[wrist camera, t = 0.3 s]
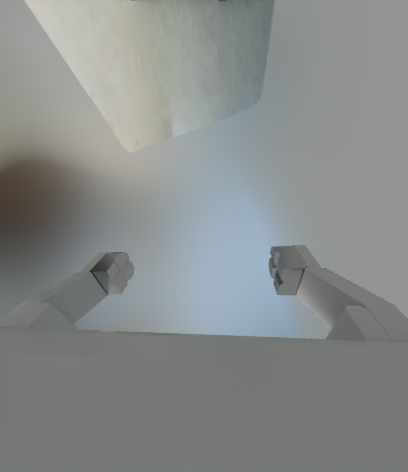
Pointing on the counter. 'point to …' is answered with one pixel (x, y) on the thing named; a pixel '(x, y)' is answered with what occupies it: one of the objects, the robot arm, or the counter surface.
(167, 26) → the counter surface
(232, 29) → the counter surface
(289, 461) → the robot arm
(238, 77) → the counter surface
